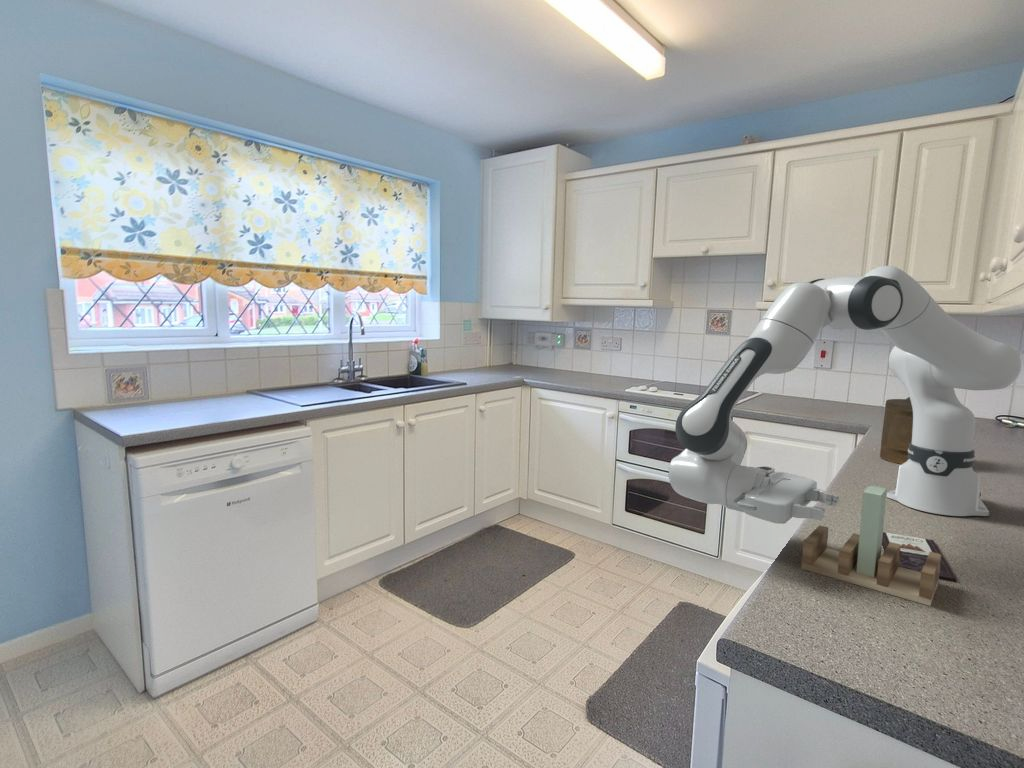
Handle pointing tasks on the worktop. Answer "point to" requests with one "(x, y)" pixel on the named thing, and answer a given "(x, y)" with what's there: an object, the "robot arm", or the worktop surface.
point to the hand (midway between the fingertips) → (831, 507)
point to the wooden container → (897, 430)
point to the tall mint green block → (871, 530)
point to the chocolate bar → (917, 553)
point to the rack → (887, 576)
